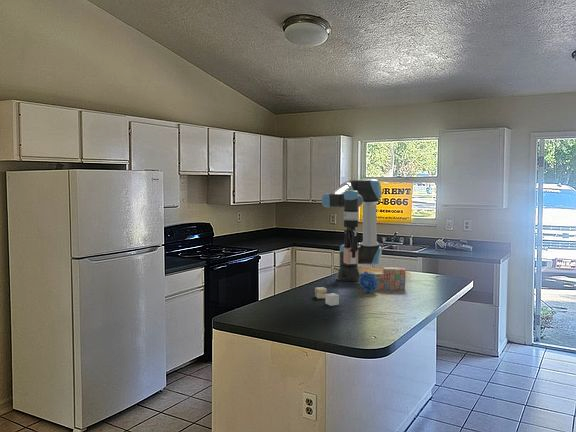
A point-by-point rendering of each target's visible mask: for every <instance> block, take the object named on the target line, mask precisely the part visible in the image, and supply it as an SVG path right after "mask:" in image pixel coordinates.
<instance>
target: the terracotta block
mask: <svg viewBox="0 0 576 432" xmlns="http://www.w3.org/2000/svg"><path fill="white" fill-rule="evenodd" d="M350 250H351V248H344V263H346V264H350ZM356 264H358V250H357V251H356ZM358 265H359V264H358Z"/></svg>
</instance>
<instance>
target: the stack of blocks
mask: <svg viewBox="0 0 576 432" xmlns="http://www.w3.org/2000/svg"><path fill="white" fill-rule="evenodd" d="M382 268H383V269H382V272H378V271H375V272H374V271H373V272H372V271H367V272H368V273H369V274H370V273H371V274H373V275H374V278H376V279H377V283H376V284H377V285H378V288H377V289H376V290H388V291H389V289H391V290H393V291H394V290H395V291H405V290H406V279H407V278H406V276H407V275H406V268H404V267H396V266H395V267H389V266H387V267H385V266H384V267H382Z"/></svg>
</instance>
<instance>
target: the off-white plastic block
mask: <svg viewBox="0 0 576 432" xmlns="http://www.w3.org/2000/svg"><path fill="white" fill-rule="evenodd" d="M339 304H340V295H339V294H338V293H333V292H332V293H327V294H326V298H325V305H328V306H337V305H339Z"/></svg>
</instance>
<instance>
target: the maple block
mask: <svg viewBox="0 0 576 432" xmlns="http://www.w3.org/2000/svg"><path fill="white" fill-rule="evenodd" d="M326 294H328V291H327V288H326V287H324V286H323V287H315V288H314V297H315V298H317V299H319V300H320V299H326Z"/></svg>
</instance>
